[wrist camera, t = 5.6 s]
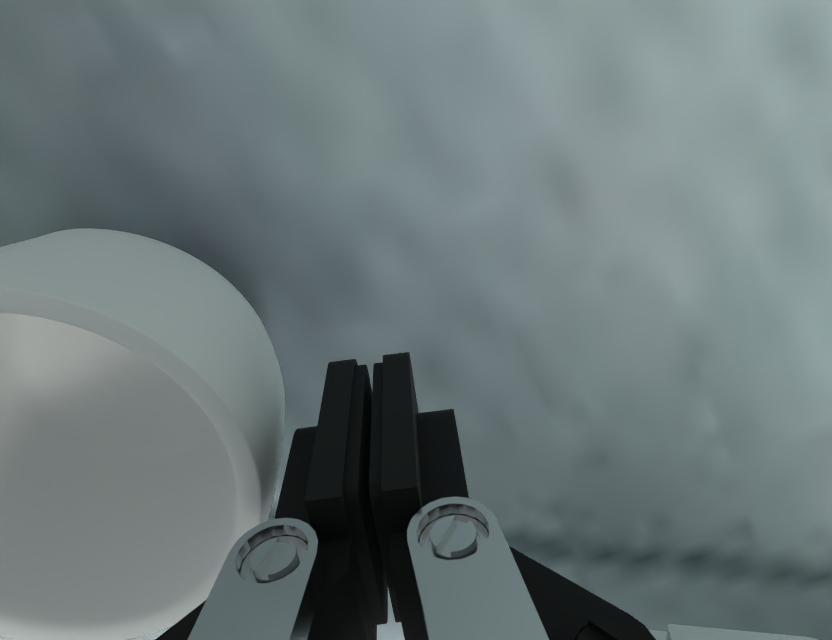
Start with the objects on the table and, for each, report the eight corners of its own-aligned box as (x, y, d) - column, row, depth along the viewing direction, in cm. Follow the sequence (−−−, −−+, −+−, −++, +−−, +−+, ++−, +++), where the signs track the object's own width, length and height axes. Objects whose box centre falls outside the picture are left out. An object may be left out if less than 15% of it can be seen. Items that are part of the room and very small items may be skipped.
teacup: (34, 122, 12) (-190, 185, 8) (358, 287, 14) (345, 420, 10) (-65, 454, 16) (-257, 639, 11) (205, 548, 18) (139, 739, 13)
